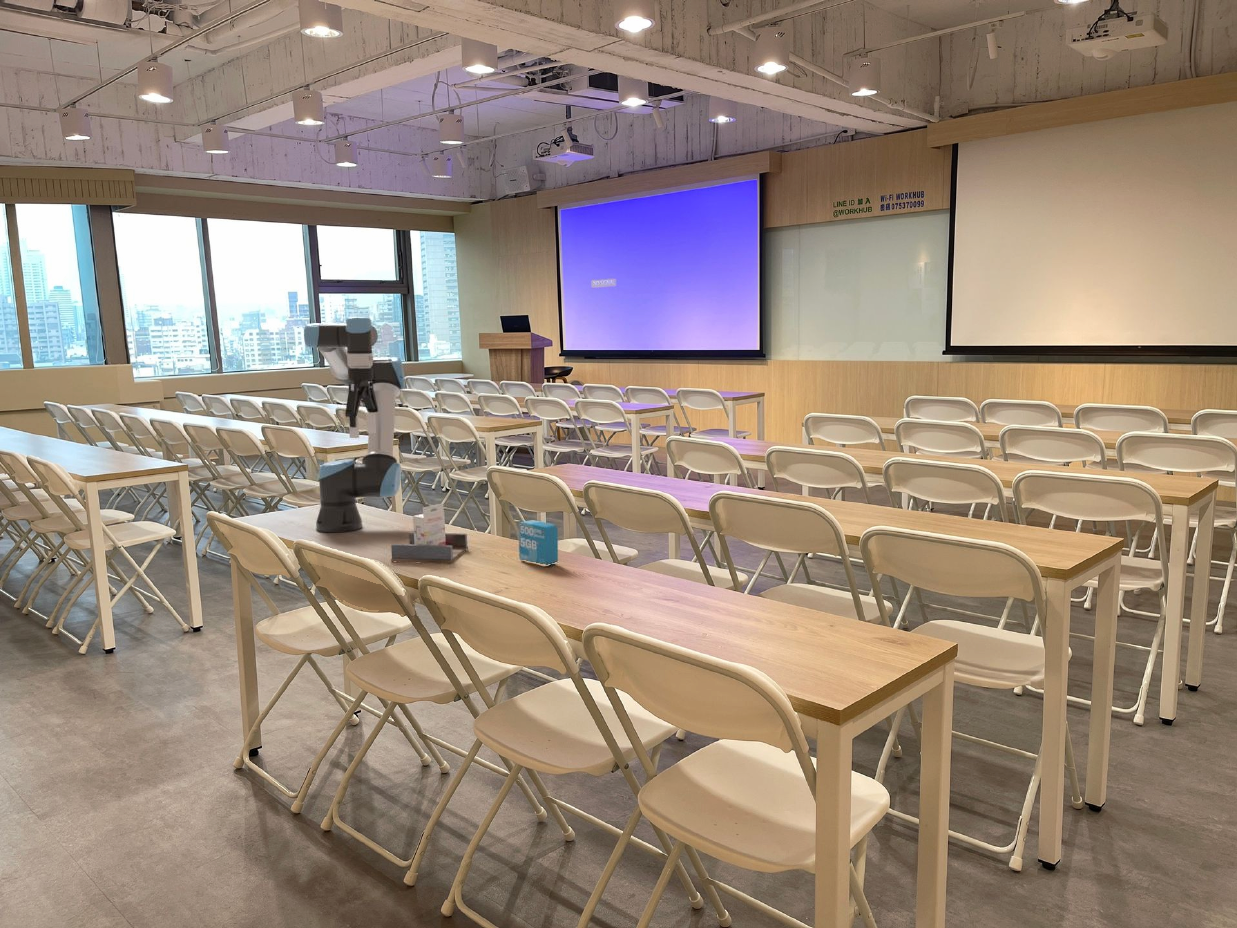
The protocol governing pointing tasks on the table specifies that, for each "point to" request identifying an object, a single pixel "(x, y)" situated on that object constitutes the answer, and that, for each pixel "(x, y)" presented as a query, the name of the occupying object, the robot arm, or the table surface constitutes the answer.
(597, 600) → the table surface
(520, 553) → the data package
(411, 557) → the track board
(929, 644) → the table surface
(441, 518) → the ink cartridge box
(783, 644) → the table surface
